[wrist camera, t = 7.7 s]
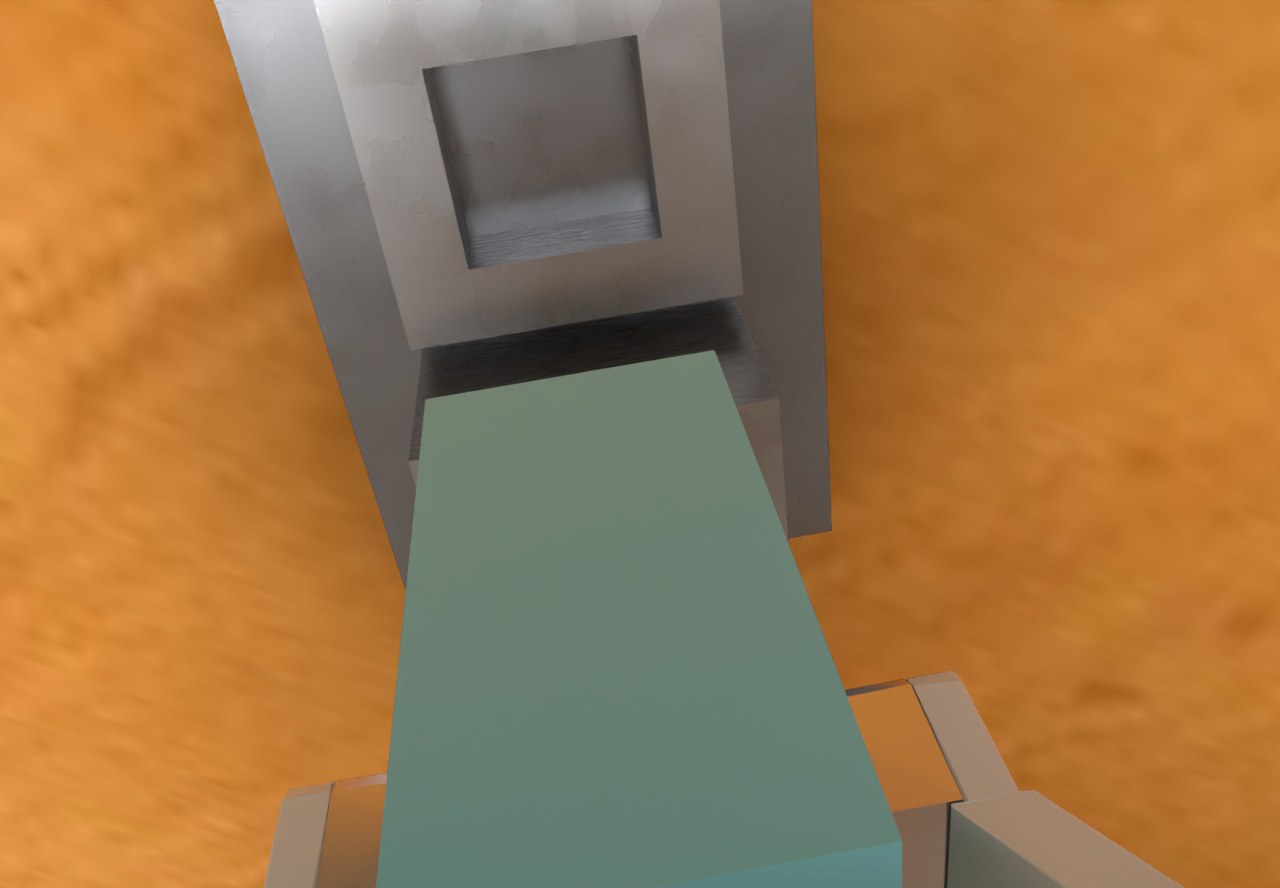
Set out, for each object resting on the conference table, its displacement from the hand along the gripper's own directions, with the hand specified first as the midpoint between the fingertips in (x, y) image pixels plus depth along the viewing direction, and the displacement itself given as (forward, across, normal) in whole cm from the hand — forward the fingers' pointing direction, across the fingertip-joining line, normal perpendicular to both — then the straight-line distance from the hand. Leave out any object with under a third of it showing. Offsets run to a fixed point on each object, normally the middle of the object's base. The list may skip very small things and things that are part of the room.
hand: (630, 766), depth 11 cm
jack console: (+25, 0, +6) cm, 26 cm away
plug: (+5, 0, 0) cm, 5 cm away
